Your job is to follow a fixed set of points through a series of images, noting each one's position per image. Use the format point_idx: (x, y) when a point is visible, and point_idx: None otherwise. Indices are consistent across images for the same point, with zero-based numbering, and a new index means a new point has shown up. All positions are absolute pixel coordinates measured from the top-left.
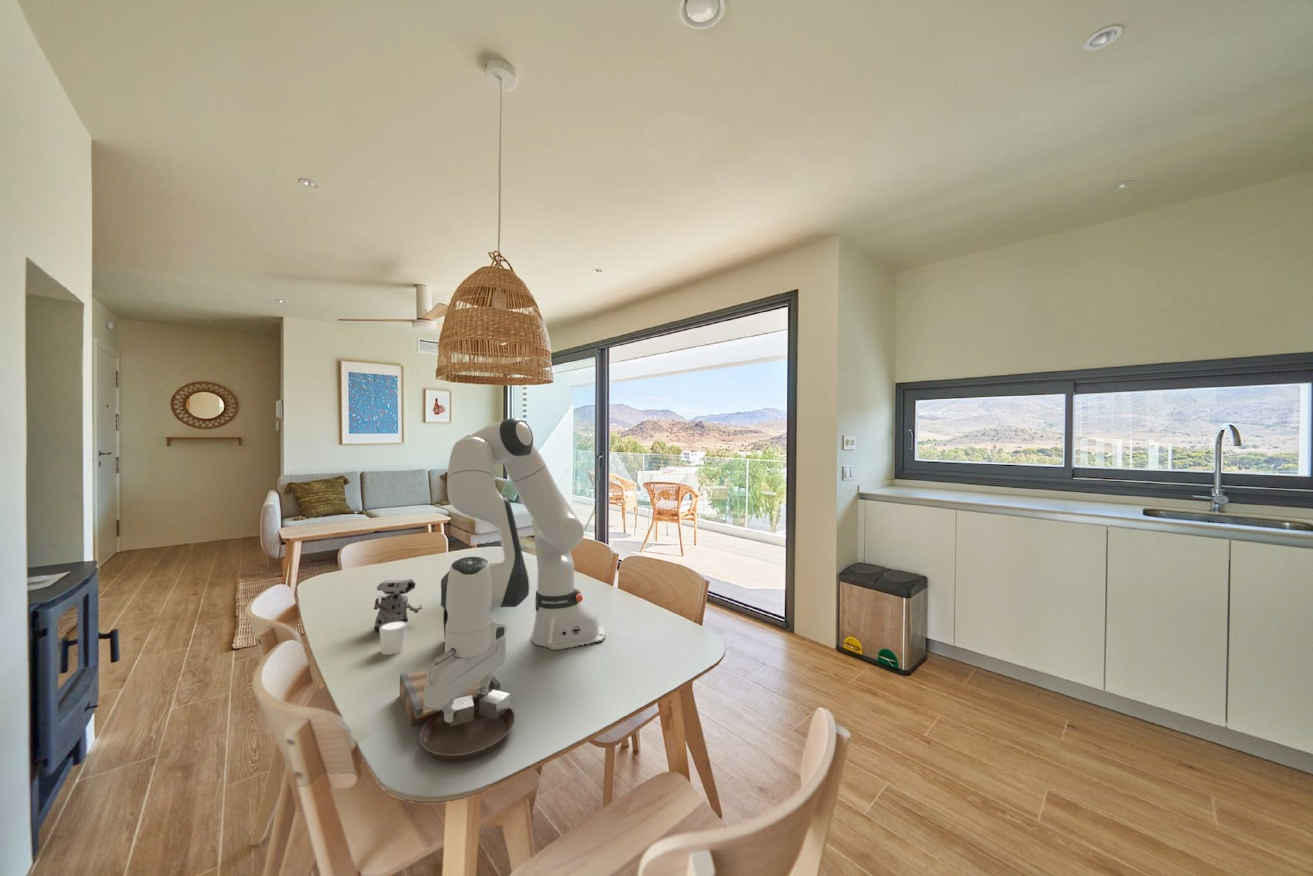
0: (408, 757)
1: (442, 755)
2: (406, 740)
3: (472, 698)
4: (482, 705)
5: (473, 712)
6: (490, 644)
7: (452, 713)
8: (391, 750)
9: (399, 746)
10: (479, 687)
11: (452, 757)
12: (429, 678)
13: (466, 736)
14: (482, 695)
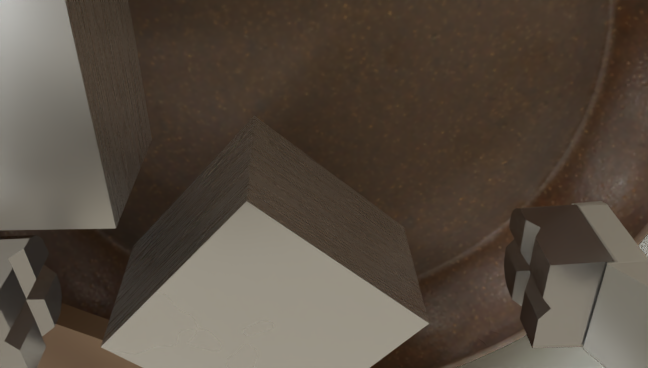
0: None
1: None
2: (474, 361)
3: (67, 321)
4: (122, 154)
5: (251, 161)
6: None
7: (636, 260)
8: (567, 361)
9: (528, 354)
10: (6, 363)
11: None
12: None
13: (327, 81)
14: (35, 254)
